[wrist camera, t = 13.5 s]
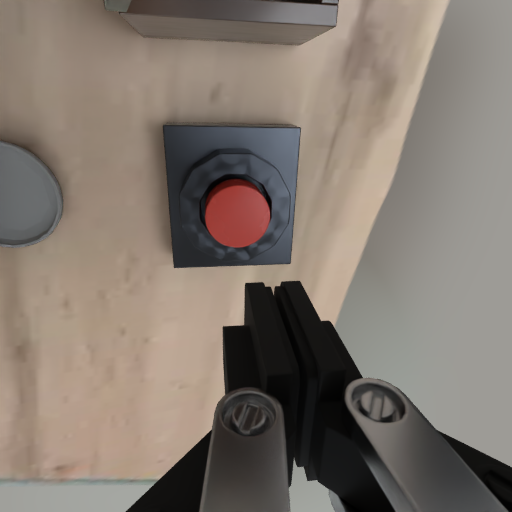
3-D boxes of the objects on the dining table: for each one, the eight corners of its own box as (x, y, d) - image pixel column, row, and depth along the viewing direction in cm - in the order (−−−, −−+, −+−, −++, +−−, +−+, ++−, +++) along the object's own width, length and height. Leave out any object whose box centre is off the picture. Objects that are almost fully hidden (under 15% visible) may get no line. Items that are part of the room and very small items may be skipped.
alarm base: (166, 122, 22) (159, 127, 18) (292, 124, 23) (309, 130, 19) (176, 254, 25) (171, 281, 22) (284, 251, 26) (297, 276, 23)
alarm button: (203, 178, 20) (204, 185, 18) (266, 178, 20) (271, 185, 19) (205, 237, 21) (206, 248, 20) (264, 236, 22) (269, 247, 20)
